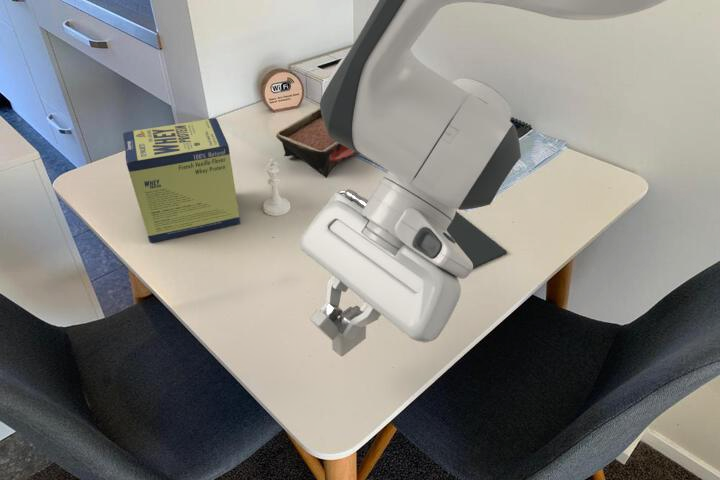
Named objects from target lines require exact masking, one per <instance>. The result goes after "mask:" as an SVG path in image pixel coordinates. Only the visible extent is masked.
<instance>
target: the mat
mask: <svg viewBox="0 0 720 480" xmlns="http://www.w3.org/2000/svg"><path fill="white" fill-rule="evenodd" d="M446 230H447V232H448V233H449V234H450V236H451V237H452V238H453V239H454V241H455V242H456V243H457V244H458V246H459V247H460V248H461V249H462V250H463V252H464V253H465V254H466V255H467V257H468V258H469V259H470V260H471V262H472V264H473V269H476V268H478V267H480V266H482V265H485V264H487V263H490V262H492V261H494V260H497V259H498V258H500V257H503V256H505V255H507V254H508V251H507V250H506V249H505V248H504V247H502V246H501V245H500V244H498V243H497V242H496V241H495V240H493V239H492V238H491V237H490V236H488V235H487V234H486V233H484V231H482V230H480V229H479V228H478V227H477V226H475V225H474V224H473V223H472V222H471V221H470V220H468V219H467V218H465V217H464V216H463V215H461V213H459V212H457V211H456V213H455V216H454V218H453V220H452V222H451V223H450V225H449V226H448V228H447V229H446ZM473 269H472V270H473Z"/></svg>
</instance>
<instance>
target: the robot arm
mask: <svg viewBox="0 0 720 480" xmlns="http://www.w3.org/2000/svg"><path fill="white" fill-rule="evenodd" d="M666 1H667V0H378V2H377V4H376V5H375V7H374V9H373V10H372V12H371V14H369V17H368V19H367V20H366V22H365V24H364V26H363V27H362V29H361V31H360V32H359V34H358V36H357V38H356V40H355V41H354V43H353V44H352V46H351V48H350V50H348V52H346V54H345V55H344V56H343V57H342V58H341V59H340V61H338V63H337V64H336V65H335V67H334V68H333V70H332V72H331V73H330V75H329V77H328V79H327V81H326V83H325V85H324V88H323V91H322V93H321V98H320V101H319V108H320V109H321V114H322V118H323V121H324V124H325V127H326V130H327V132H328V135H329V137H330V139H332V140H334V141H336V142H337V143H339V144H341V145H343V146H345V147H347V148H349V149H351V150H353V151H355V152H357V153H358V154H357V155H362V156H364V157H366V158H367V159H369V160H370V161H372V162H374V163H375V164H377V165H379V166H380V167H381V168H382V169H385V170H386V171H387V172H386V173H385V174H384V175H383V178H382V179H381V181H380V182H379V183H378V185H377V187H376V188H375V190H374V191H373V193H372V194H371V196H370V197H369V199H367V198H365V197H362V196H361V195H359V194H358V192H356V191H354V190H353V189H350V188H349V189H346V190H345V189H343V190H340V191H338V192H336V191H335V193H333V194H332V196H331V198H330V199H329V200H328V202H327V204H325V206H323V208H322V209H321V210H320V211H319V212H318V213H317V214H316V216H315V217H314V218H313V220H312V221H311V222H310V223H309V224H308V226H307V227H306V229H305V230H304V232H303V233H302V234H301V236H300V239H299V248H300V250H301V251H302V252H303V253H305V254H306V255H307V256H308V257H309V258H311V259H312V260H313V261H315V262H316V263H317V264H318V265H319V266H321V267H322V268H323V269H324V270H325V271H326V272H328V273H329V274H330V275H331V277H330V278H329V280H327V283H326V293H325V302H324V304H323V305H322V307H321V308H320V310H319V311H321V312H322V313H323V314H325V315H326V316H327V317H328V318H329V319H330V320H331V321H332V322H334V321H335V320H337V319H338V318H339V317H340V314H341V313H342V312H343V311H344V310H343V309H342V308H341V307H340V302H341V297H342V293H347V292H348V289H349V290H350V291H352V292H353V293H354V294H355V295H356V296H358V297H359V298H360V299H362V300H363V303H362V305H361V306H360V310H361V311H362V312H363V313H362V314H360V315H359V316H357V317H355V318H354V319H349V318H345V317H344V319H343V320H342V322H341V325H340V326H339V327H338V332H339V333H340V334H342V335H343V336H344V337H345V338H346V339H350V340H352V339H354V338H355V337H356V335H357V334H358V332H359V330H360V329H361V327H364V326H366V327H367V326H368V325H370V324H372V323H374V322H376V321H378V320H379V318H380V317H381V316H383V317H384V318H385V319H386V320H387V321H389V322H390V323H391V324H392V325H393V326H395V327H396V328H397V329H398V330H400V331H401V332H403V334H405V335H406V336H407V337H409V338H410V339H412V340H413V341H416V342H419V343H429V342H433V341H435V340H436V339H437V338H438V337H439V336H440V335H441V333H442V332H443V330H444V329H445V327H446V326H447V324H448V322H449V320H450V319H451V317H452V315H453V313H454V311H455V309H456V307H457V305H458V303H459V299H460V297H461V294H462V286H461V285H462V284H461V283H460V281H459V279H462V280H463V279H466V278H468V277H469V275H470V274H471V272H472V271H473V264H472V262H471V260H470V259H469V258H468V257H467V255H466V254H465V253H464V252H463V250H462V249H461V248H460V247H459V246H458V244H457V243H456V242H455V241H454V239H453V238H452V237H451V236H450V234H449V233H448V232H447V230H446V229H447V228H448V226H449V225H450V223H451V222H452V220H453V218H454V216H455V213H456V212H457V210H458V211H464V210H472V209H478V208H482V207H486V206H490V205H491V204H492V202H493V201H494V199H495V197H496V196H497V193H498V192H499V190H500V188H501V187H502V185H503V183H504V182H505V180H506V178H508V175H509V174H510V173H511V171H512V170H513V168H514V167H515V165H516V164H517V163H518V161H519V160H520V159H521V158H522V153H521V145H520V144H521V143H520V139H519V134H518V131H517V128H516V126H515V125H516V124H514V123H513V122H511V118H512V110H511V107H510V105H509V103H508V102H507V101H506V99H505V98H504V97H503V96H502V94H500V93H499V91H497V90H496V89H494V88H493V87H491V86H490V85H488V84H487V83H485V82H482V81H480V80H477V79H473V78H465V77H462V78H457V79H454V80H452V81H450V80H448V79H447V78H445V77H444V76H442V75H441V74H439V73H438V72H435V71H434V70H433V69H431V68H429V67H428V66H426V65H425V64H423V63H422V62H421V61H420V60H419V59H418V58H417V57H416V56H415V55H414V53H413V52H412V50H411V49H412V48H413V46H414V44H415V43H416V42H417V41H418V39H419V37H420V36H421V35H422V34H423V32H424V31H425V30H426V28H427V27H428V26H429V24H430V23H431V21H432V20H433V19H434V17H435V16H436V15H437V13H438V12H439V11H440V9H441V8H443V7H445V6H448V5H451V4H456V3H457V4H458V3H479V4H481V3H482V4H489V5H498V6H504V7H510V8H515V9H518V10H519V9H520V10H523V11H527V12H531V13H536V14H538V15H539V14H540V15H543V16H546V17H550V18H555V19H563V20H570V21H596V20H597V21H599V20H609V19H614V18H619V17H624V16H628V15H633V14H636V13H640V12H642V11H645V10H649V9H651V8H653V7H656V6H658V5H660V4H662V3H664V2H666Z"/></svg>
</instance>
